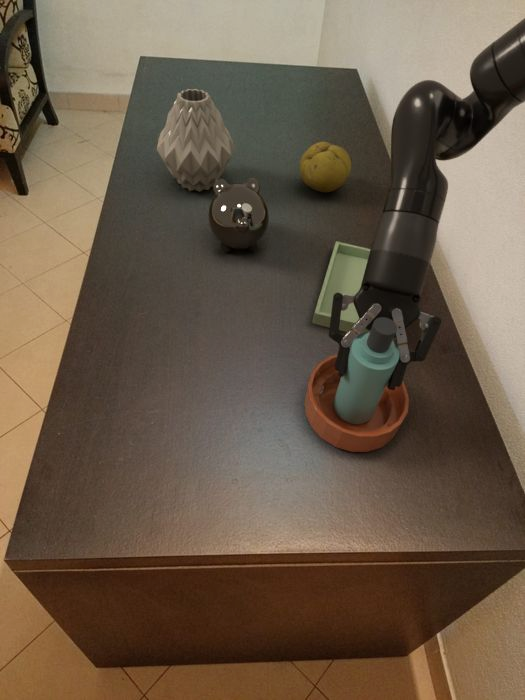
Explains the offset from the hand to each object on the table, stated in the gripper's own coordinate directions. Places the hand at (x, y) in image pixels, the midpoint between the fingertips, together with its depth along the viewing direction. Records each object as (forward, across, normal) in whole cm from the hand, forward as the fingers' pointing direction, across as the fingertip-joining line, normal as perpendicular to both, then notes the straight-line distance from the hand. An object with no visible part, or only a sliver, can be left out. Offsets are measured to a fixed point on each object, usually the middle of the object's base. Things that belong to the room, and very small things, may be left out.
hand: (365, 381), depth 61 cm
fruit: (-35, -16, +48) cm, 62 cm away
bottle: (+5, 0, +7) cm, 9 cm away
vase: (-29, -43, +43) cm, 67 cm away
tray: (-12, -2, +26) cm, 29 cm away
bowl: (+6, 0, +8) cm, 10 cm away
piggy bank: (-17, -28, +31) cm, 45 cm away
